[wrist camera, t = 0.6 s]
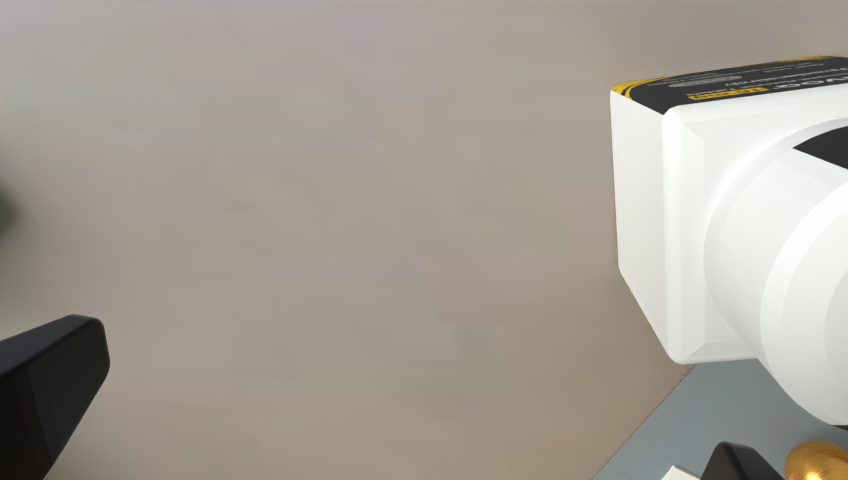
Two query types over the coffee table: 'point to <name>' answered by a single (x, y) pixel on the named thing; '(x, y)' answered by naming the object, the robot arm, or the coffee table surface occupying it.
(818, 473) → the crank handle
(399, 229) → the coffee table surface
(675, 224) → the medicine bottle
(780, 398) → the plate
